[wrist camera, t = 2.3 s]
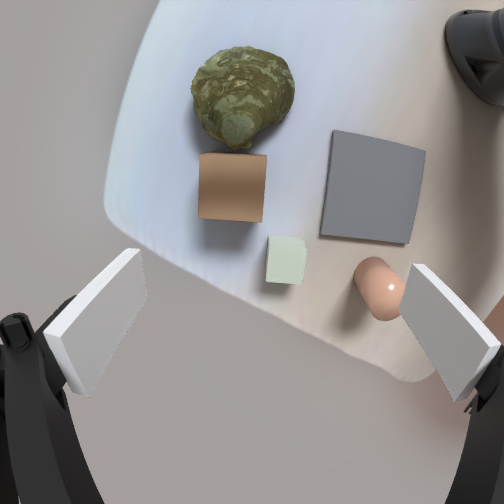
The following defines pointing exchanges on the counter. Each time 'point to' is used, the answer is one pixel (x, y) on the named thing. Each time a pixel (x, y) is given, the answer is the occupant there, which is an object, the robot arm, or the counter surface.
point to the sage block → (285, 260)
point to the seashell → (241, 94)
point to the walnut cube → (232, 186)
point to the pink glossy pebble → (379, 288)
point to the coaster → (372, 188)
